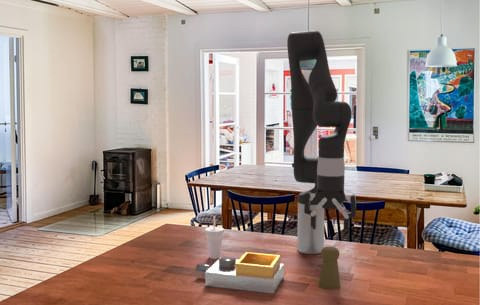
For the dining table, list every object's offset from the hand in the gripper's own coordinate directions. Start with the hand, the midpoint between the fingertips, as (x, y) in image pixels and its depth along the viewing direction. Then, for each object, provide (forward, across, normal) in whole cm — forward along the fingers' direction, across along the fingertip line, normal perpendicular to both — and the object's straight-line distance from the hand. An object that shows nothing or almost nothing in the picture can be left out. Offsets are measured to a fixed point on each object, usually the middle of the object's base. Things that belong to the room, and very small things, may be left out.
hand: (329, 229), depth 137 cm
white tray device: (+16, +26, +4) cm, 31 cm away
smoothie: (+16, +40, -14) cm, 45 cm away
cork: (+16, 0, 0) cm, 16 cm away
